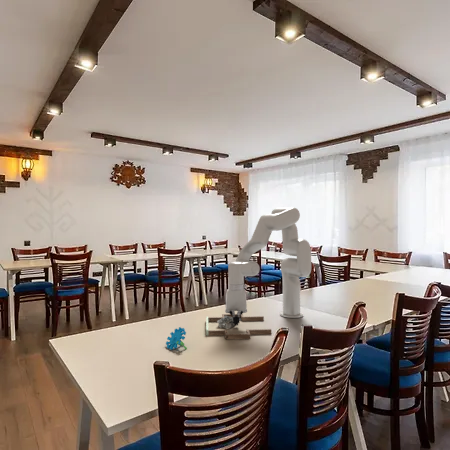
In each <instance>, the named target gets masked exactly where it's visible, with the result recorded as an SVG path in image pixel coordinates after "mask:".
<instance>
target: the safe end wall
mask: <svg viewBox="0 0 450 450" xmlns="http://www.w3.org/2000/svg"><path fill="white" fill-rule="evenodd" d="M208 317H209V316H205V323H206V324H205V325H206V326H205V329H206V330H205V332H206V333H205V334H206V336H208V330H209V322H208ZM208 337H209V336H208Z"/></svg>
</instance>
